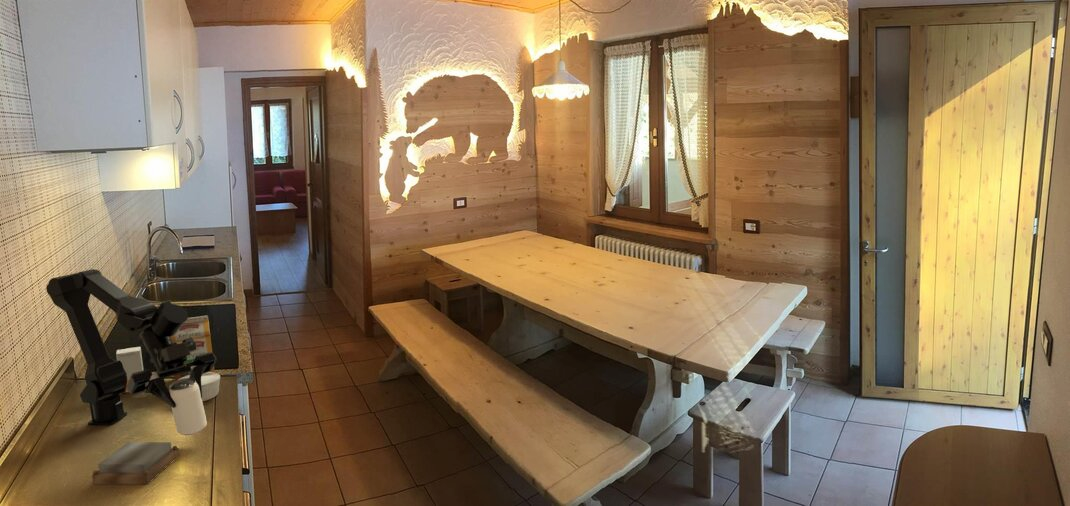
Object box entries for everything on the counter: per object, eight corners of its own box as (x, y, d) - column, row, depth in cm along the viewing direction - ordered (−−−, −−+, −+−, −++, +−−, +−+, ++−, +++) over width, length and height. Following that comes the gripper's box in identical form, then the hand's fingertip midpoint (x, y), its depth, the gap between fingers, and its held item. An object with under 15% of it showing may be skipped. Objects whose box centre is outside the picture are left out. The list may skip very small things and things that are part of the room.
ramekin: (224, 386, 196) (222, 369, 195) (219, 401, 185) (217, 383, 184) (181, 392, 192) (179, 374, 191) (174, 407, 182) (172, 389, 181)
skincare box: (120, 394, 191) (115, 354, 189) (122, 388, 195) (116, 349, 193) (145, 389, 194) (139, 350, 192) (146, 384, 198) (140, 346, 195)
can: (194, 437, 156) (184, 392, 153) (171, 434, 158) (160, 389, 154) (213, 422, 162) (203, 378, 158) (190, 419, 164) (180, 375, 160)
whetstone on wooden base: (93, 483, 143) (90, 466, 143) (128, 456, 155) (126, 440, 154) (147, 484, 143) (145, 466, 142) (179, 456, 155) (177, 440, 154)
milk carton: (214, 370, 209) (207, 311, 205) (215, 381, 199) (208, 320, 196) (176, 376, 204) (168, 316, 200) (175, 388, 195) (167, 325, 191)
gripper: (125, 340, 149) (153, 399, 145) (209, 320, 164) (236, 373, 159) (116, 365, 156) (142, 423, 151) (197, 344, 170) (223, 396, 165)
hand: (188, 402), depth 156 cm, fingers closed on can, 6 cm apart
